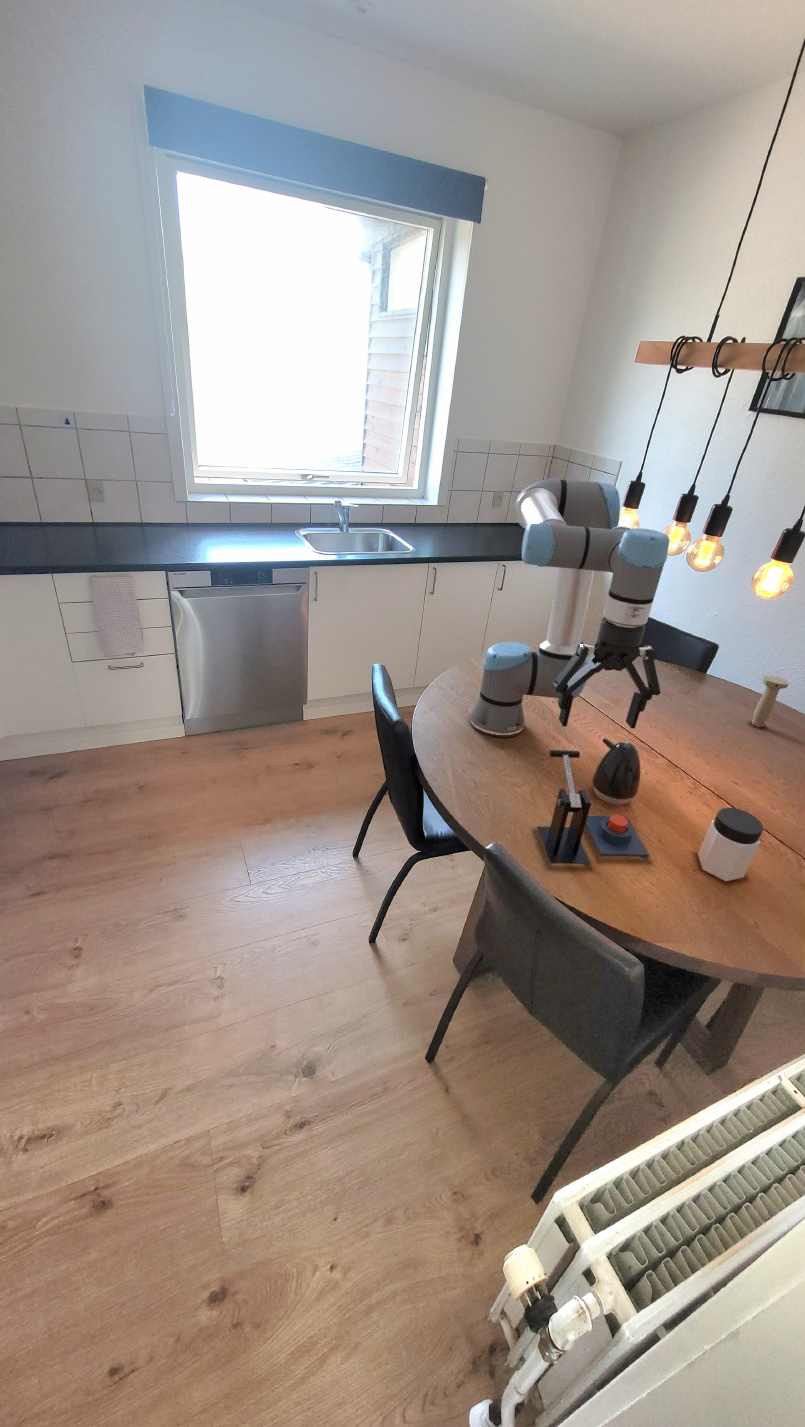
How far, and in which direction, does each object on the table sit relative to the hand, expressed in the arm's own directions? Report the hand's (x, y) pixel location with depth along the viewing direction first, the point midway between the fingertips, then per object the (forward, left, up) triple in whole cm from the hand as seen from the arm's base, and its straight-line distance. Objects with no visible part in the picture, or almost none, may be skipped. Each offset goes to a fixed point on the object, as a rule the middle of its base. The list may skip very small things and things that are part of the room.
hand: (596, 724), depth 114 cm
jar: (+11, +28, -26) cm, 40 cm away
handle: (-49, +72, -26) cm, 91 cm away
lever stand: (+7, -4, -26) cm, 27 cm away
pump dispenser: (-11, +13, -26) cm, 32 cm away
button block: (+4, +8, -26) cm, 28 cm away
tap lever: (+2, -4, -13) cm, 13 cm away
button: (+4, +8, -22) cm, 24 cm away
